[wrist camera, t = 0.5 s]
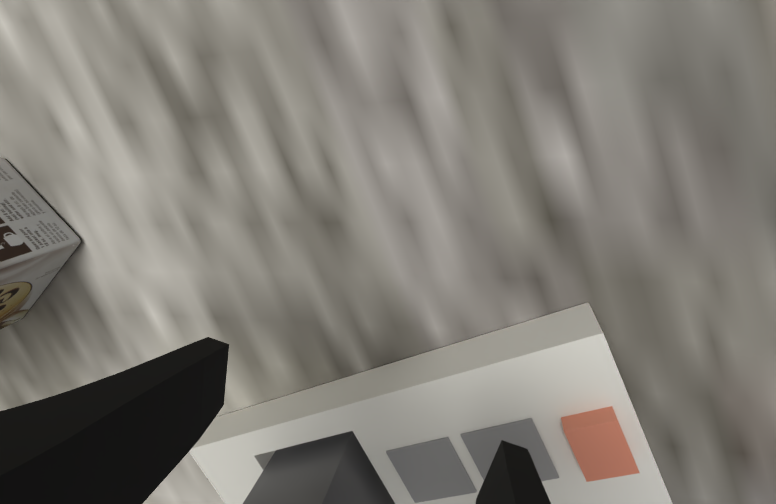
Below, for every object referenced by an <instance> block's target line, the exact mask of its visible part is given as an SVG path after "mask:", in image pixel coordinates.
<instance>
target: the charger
mask: <svg viewBox="0 0 776 504" xmlns="http://www.w3.org/2000/svg"><path fill="white" fill-rule="evenodd" d="M243 504H395V503H394V501H393V499H392V497H391V496H390V494H389V492H388V491H387V489H386V487H385V486H384V484H383V482H382V480H381V479H380V477H379V475H378V474H377V472H376V470H375V468H374V467H373V465H372V463H371V462H370V460H369V458H368V457H367V455H366V453H365V451H364V450H363V448H362V446H361V445H360V443H359V441H358V439H357V438H356V436H355V434H354V433H353V431H349V432H345V433H341V434H338V435H334V436H330V437H326V438H322V439H318V440H314V441H310V442H306V443H302V444H298V445H294V446H290V447H286V448H283V449H279V450H276V451H275V452H274V454H273V456H272V457H271V459H270V461H269V462H268V464H267V465H266V467H265V469H264V470H263V472H262V473H261V475H260V477H259V478H258V480H257V482H256V483H255V485H254V486H253V488H252V490H251V491H250V493H249V494H248V496H247V498H246V499H245V501H244V503H243Z"/></svg>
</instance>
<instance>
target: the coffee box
mask: <svg viewBox="0 0 776 504" xmlns="http://www.w3.org/2000/svg"><path fill="white" fill-rule="evenodd" d="M80 242H81V240H80V238H79V237H78V236H77V235H76V234H75V233H74V232H73V231H72V230H71V229H70V227H69V226H68V225H67V224H66V223H65V222H64V221H63V220H62V219H61V218H60V217H59V216H58V215H57V214H56V213H55V212H54V210H53V209H52V208H51V207H50V206H49V205H48V204H47V203H46V202H45V201H44V200H43V199H42V198H41V197H40V196H39V195H38V193H37V192H36V191H35V190H34V189H33V188H32V187H31V186H30V185H29V184H28V183H27V182H26V181H25V180H24V179H23V178H22V176H21V175H20V174H19V173H18V172H17V171H16V170H15V169H14V168H13V167H12V166H11V165H10V164H9V162H8V161H7V160H5V159H3V158H0V329H2V328H4V327H6V326H8V325H10V324H13V323H15V322H17V321H19V320H21V319H22V318H23V317H24V316H25V314H26V313H27V312H28V311H29V309H30V308H31V307H32V306H33V304H34V303H35V302H36V300H37V299H38V298H39V296H40V295H41V294H42V292H43V291H44V290H45V288H46V287H47V286H48V284H49V283H50V282H51V281H52V279H53V278H54V277H55V275H56V274H57V273H58V271H59V270H60V269H61V267H62V266H63V265H64V264H65V262H66V261H67V260H68V258H69V257H70V256H71V254H72V253H73V252H74V250H75V249H76V248H77V247H78V245H79V244H80Z"/></svg>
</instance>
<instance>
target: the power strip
mask: <svg viewBox="0 0 776 504" xmlns="http://www.w3.org/2000/svg"><path fill="white" fill-rule="evenodd" d="M349 431H353V433H354V434H355V436H356V438H357V439H358V441H359V443H360V445H361V446H362V448H363V450H364V451H365V453H366V455H367V457H368V458H369V460H370V462H371V463H372V465H373V467H374V468H375V470H376V472H377V474H378V475H379V477H380V479H381V480H382V482H383V484H384V486H385V487H386V489H387V491H388V492H389V494H390V496H391V497H392V499H393V501H394V503H395V504H476V498H477V496H478V494H479V491H480V489H481V487H482V484H483V482H484V480H485V477H486V475H487V473H488V470H489V468H490V466H491V463H492V461H493V459H494V456H495V454H496V452H497V450H498V447H499V445H500V443H501V440H503V441H506V442H509V443H512V444H515V445H518V446H520V447H523V448H526V449H528V451H529V453H530V455H531V457H532V460H533V462H534V465H535V467H536V469H537V472H538V474H539V477H540V479H541V481H542V484H543V486H544V488H545V491H546V493H547V495H548V498H549V500H550V502H551V504H672V501H671V499H670V496H669V494H668V492H667V489H666V487H665V484H664V482H663V479H662V477H661V474H660V472H659V469H658V467H657V464H656V462H655V460H654V457H653V455H652V452H651V450H650V447H649V445H648V442H647V440H646V437H645V435H644V432H643V430H642V428H641V425H640V423H639V420H638V418H637V415H636V413H635V410H634V408H633V405H632V403H631V401H630V398H629V396H628V393H627V391H626V388H625V386H624V383H623V381H622V378H621V376H620V373H619V371H618V369H617V366H616V364H615V361H614V359H613V356H612V354H611V351H610V349H609V346H608V344H607V341H606V339H605V337H604V334H603V332H602V330H601V328H600V326H599V323H598V321H597V319H596V317H595V315H594V313H593V311H592V309H591V307H590V305H589V302H588V303H584V304H581V305H578V306H575V307H571V308H568V309H565V310H562V311H558V312H555V313H552V314H549V315H545V316H542V317H539V318H536V319H533V320H529V321H526V322H523V323H520V324H516V325H513V326H510V327H507V328H503V329H500V330H497V331H494V332H490V333H487V334H484V335H481V336H477V337H474V338H471V339H468V340H465V341H461V342H458V343H455V344H452V345H448V346H445V347H442V348H439V349H435V350H432V351H429V352H426V353H422V354H419V355H416V356H413V357H409V358H406V359H403V360H400V361H397V362H393V363H390V364H387V365H384V366H380V367H377V368H374V369H371V370H367V371H364V372H361V373H358V374H354V375H351V376H348V377H345V378H341V379H338V380H335V381H332V382H329V383H325V384H322V385H319V386H316V387H312V388H309V389H306V390H303V391H299V392H296V393H293V394H290V395H286V396H283V397H280V398H277V399H273V400H270V401H267V402H264V403H261V404H257V405H254V406H251V407H248V408H244V409H241V410H238V411H235V412H231V413H228V414H225V415H222V416H218V417H216V418H215V419H214V420H213V421H212V422H211V424H210V425H209V427H208V428H207V429H206V431H205V432H204V434H203V435H202V436H201V438H200V439H199V440H198V441H197V443H196V444H195V445H194V446H193V447H192V448H191V450H190V451H189V453H190V454H191V455H192V457H193V458H194V460H195V461H196V463H197V464H198V466H199V467H200V468H201V470H202V471H203V473H204V474H205V476H206V477H207V478H208V480H209V481H210V483H211V484H212V486H213V487H214V488H215V490H216V491H217V493H218V494H219V496H220V497H221V499H222V500H223V501H224V503H225V504H243V503H244V501H245V499H246V498H247V496H248V494H249V493H250V491H251V490H252V488H253V486H254V485H255V483H256V482H257V480H258V478H259V477H260V475H261V473H262V472H263V470H264V469H265V467H266V465H267V464H268V462H269V461H270V459H271V457H272V456H273V454H274V452H275V451H276V450H279V449H283V448H286V447H290V446H294V445H298V444H302V443H306V442H310V441H314V440H318V439H322V438H326V437H330V436H334V435H338V434H341V433H345V432H349Z"/></svg>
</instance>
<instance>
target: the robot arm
mask: <svg viewBox="0 0 776 504" xmlns="http://www.w3.org/2000/svg"><path fill="white" fill-rule="evenodd" d="M228 349H229V344H226V343H224V342H221V341H218V340H215V339H212V338H209V337H207V338H205V339H202V340H199V341H197V342H194V343H192V344H189V345H187V346H184V347H182V348H179V349H177V350H175V351H172V352H170V353H167V354H165V355H162V356H160V357H158V358H155V359H153V360H150V361H148V362H145V363H143V364H140V365H138V366H135V367H133V368H130V369H128V370H125V371H123V372H120V373H117V374H115V375H112V376H109V377H106V378H104V379H101V380H98V381H95V382H93V383H90V384H87V385H84V386H81V387H79V388H76V389H73V390H70V391H67V392H64V393H61V394H58V395H55V396H52V397H49V398H45V399H42V400H39V401H35V402H32V403H28V404H25V405H22V406H18V407H15V408H11V409H7V410H4V411H0V504H142V503H143V502H144V501H145V500H146V499H147V498H148V497H149V495H150V494H151V493H152V492H153V491H154V490H155V489H156V488H157V487H158V485H159V484H160V483H161V482H162V481H163V480H164V479H165V478H166V477H167V475H168V474H169V473H170V472H171V471H172V470H173V469H174V468H175V467H176V465H177V464H178V463H179V462H180V461H181V460H182V459H183V457H184V456H185V455H186V454H187V453H188V452H189V451H190V450H191V448H192V447H193V446H194V445H195V444H196V443H197V441H198V440H199V439H200V438H201V436H202V435H203V434H204V432H205V431H206V429H207V428H208V427H209V425H210V424H211V422H212V421H213V420H214V418H215V417H216V415H217V414H218V412H219V411H220V409H221V408H222V406H223V405H224V394H225V383H226V372H227V361H228ZM476 504H551V502H550V500H549V498H548V495H547V493H546V491H545V488H544V486H543V484H542V481H541V479H540V477H539V474H538V472H537V469H536V467H535V465H534V462H533V460H532V457H531V455H530V453H529V451H528V449H526V448H523V447H520V446H518V445H515V444H512V443H509V442H506V441H503V440H501V443H500V445H499V447H498V450H497V452H496V454H495V456H494V459H493V461H492V463H491V466H490V468H489V470H488V473H487V475H486V477H485V480H484V482H483V484H482V487H481V489H480V491H479V494H478V496H477V498H476Z"/></svg>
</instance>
